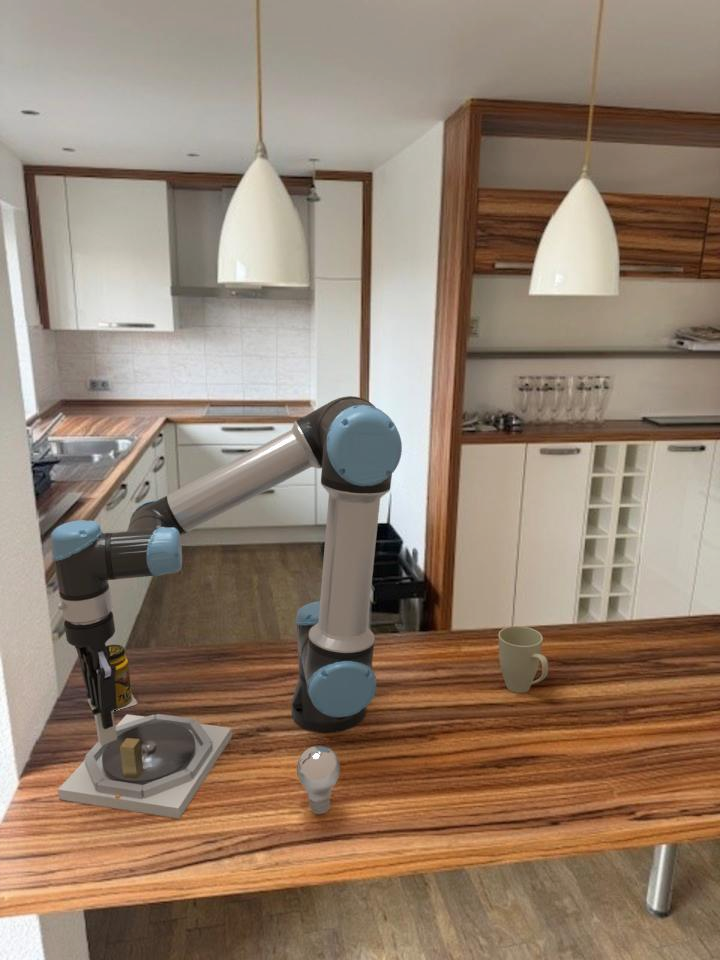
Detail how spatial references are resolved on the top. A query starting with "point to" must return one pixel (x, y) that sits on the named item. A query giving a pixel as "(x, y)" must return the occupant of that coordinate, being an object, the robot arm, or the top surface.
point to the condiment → (120, 678)
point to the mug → (521, 657)
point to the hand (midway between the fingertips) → (107, 740)
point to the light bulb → (318, 776)
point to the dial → (148, 753)
